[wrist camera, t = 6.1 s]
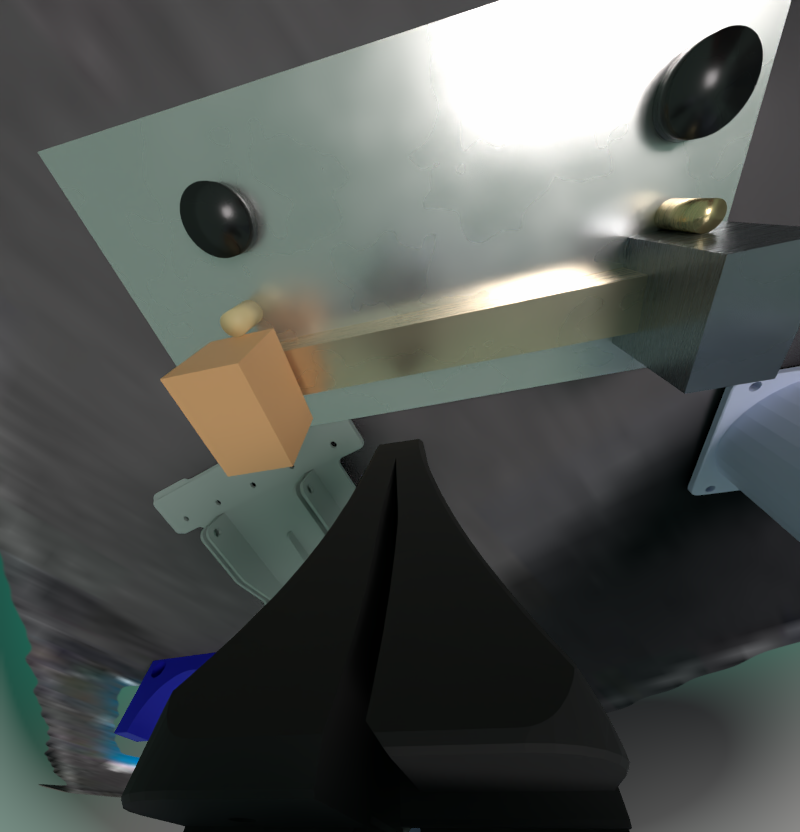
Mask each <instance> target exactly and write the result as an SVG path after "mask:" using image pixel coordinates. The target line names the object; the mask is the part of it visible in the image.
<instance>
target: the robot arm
mask: <svg viewBox="0 0 800 832" xmlns="http://www.w3.org/2000/svg"><path fill="white" fill-rule="evenodd" d="M688 490H689V491H690V492H691V493H692V494H693V495H705V494H713V493H721V492H729V491H737V490H741V491H742V492H743V493H744V494H745V495H746V496H747V497H749V498H750V499H751V500H752V501H753V502H754V503H755V504H757V505H758V506H759V507H760V508H761V509H762V510H764V511H765V512H766V513H767V514H768V515H769V516H770V517H772V518H773V519H774V520H775V521H776V522H777V523H778V524H780V525H781V526H782V527H783V528H784V529H785V530H787V531H788V532H789V533H790V534H791V535H792V536H793V537H795V538H796V539H797V540H798V541H799V542H800V366H798V367H792V368H786V369H780V370H779V371H778V374H777V376H776V378H775V379H771V380H765V381H759V382H753V383H747V384H740V385H734V386H728V387H726V388H725V391H724V393H723V396H722V399H721V401H720V404H719V407H718V409H717V412H716V414H715V417H714V420H713V422H712V425H711V427H710V430H709V433H708V435H707V438H706V441H705V443H704V446H703V448H702V451H701V454H700V456H699V459H698V461H697V464H696V467H695V469H694V472H693V475H692V477H691V480H690V482H689V485H688ZM628 769H629V760H628V757H627V754H626V752H625V749H624V747H623V745H622V743H621V741H620V739H619V737H618V735H617V733H616V731H615V729H614V727H613V725H612V723H611V721H610V719H609V717H608V716H607V714H606V712H605V710H604V709H603V707H602V705H601V704H600V702H599V701H598V699H597V697H596V696H595V694H594V692H593V691H592V689H591V688H590V686H589V685H588V683H587V682H586V680H585V678H584V677H583V675H582V674H581V672H580V671H579V669H578V667H577V666H576V664H575V663H574V662H573V661H572V660H571V659H570V658H569V657H568V655H567V654H566V653H565V652H564V651H563V650H562V649H561V648H560V647H559V646H558V645H557V644H556V643H555V642H554V641H553V640H552V639H551V638H550V636H549V635H548V634H547V633H546V632H545V631H544V630H543V629H542V628H541V627H540V626H539V624H538V623H537V622H536V621H535V620H534V619H533V618H532V617H531V616H530V614H529V613H528V612H527V611H526V610H525V609H524V608H523V606H522V605H521V604H520V603H519V602H518V601H517V600H516V598H515V597H514V596H513V595H512V594H511V593H510V591H509V590H508V589H507V588H506V586H505V585H504V584H503V583H502V581H501V580H500V579H499V578H498V576H497V575H496V574H495V573H494V571H493V570H492V569H491V568H490V566H489V565H488V564H487V563H486V561H485V560H484V559H483V557H482V556H481V555H480V553H479V552H478V551H477V549H476V548H475V546H474V545H473V544H472V542H471V541H470V539H469V538H468V536H467V535H466V533H465V532H464V531H463V529H462V528H461V526H460V524H459V523H458V521H457V520H456V518H455V517H454V515H453V513H452V512H451V510H450V508H449V506H448V505H447V503H446V501H445V499H444V498H443V496H442V494H441V492H440V490H439V488H438V486H437V484H436V482H435V480H434V478H433V476H432V473H431V471H430V469H429V466H428V463H427V458H426V454H425V449H424V445H423V441H421V440H419V439H416V440H410V441H403V442H396V443H390V444H383V445H379V446H378V448H377V449H376V451H375V453H374V455H373V457H372V459H371V461H370V463H369V465H368V467H367V469H366V471H365V473H364V474H363V476H362V478H361V480H360V482H359V483H358V485H357V487H356V488H355V490H354V492H353V494H352V495H351V497H350V499H349V500H348V502H347V504H346V505H345V507H344V508H343V510H342V511H341V513H340V514H339V516H338V517H337V519H336V520H335V522H334V523H333V525H332V526H331V528H330V529H329V530H328V532H327V533H326V535H325V536H324V537H323V539H322V540H321V541H320V543H319V544H318V545H317V547H316V548H315V549H314V550H313V552H312V553H311V554H310V555H309V557H308V558H307V559H306V560H305V562H304V563H303V564H302V565H301V566H300V567H299V569H298V570H297V571H296V572H295V573H294V575H293V576H292V577H291V578H290V579H289V580H288V581H287V583H286V584H285V585H284V586H283V587H282V588H281V589H280V590H279V591H278V593H277V594H276V595H275V596H274V597H273V598H272V599H271V600H270V601H269V602H268V603H267V604H266V605H265V606H264V607H263V608H262V609H261V610H260V611H259V612H258V613H257V614H256V615H255V616H254V617H253V618H252V619H251V620H250V621H249V622H248V623H247V624H246V625H245V626H244V627H243V628H242V629H241V630H240V631H239V632H238V633H237V634H236V635H235V636H234V637H233V638H232V639H231V640H230V641H229V642H227V643H226V644H225V645H224V646H223V647H222V648H221V649H220V650H219V651H217V652H216V653H215V654H214V655H213V656H212V657H211V658H210V659H209V660H207V661H206V662H205V663H204V664H203V665H202V666H201V667H200V668H198V669H197V670H196V671H195V672H194V673H193V674H192V675H191V676H189V677H188V678H187V679H186V680H185V681H184V682H183V683H181V684H180V685H179V686H178V687H177V688H176V689H174V690H173V692H172V693H171V695H170V697H169V699H168V701H167V703H166V705H165V707H164V709H163V711H162V713H161V715H160V717H159V719H158V721H157V723H156V725H155V728H154V730H153V732H152V734H151V736H150V738H149V740H148V742H147V744H146V747H145V748H144V751H143V753H142V755H141V757H140V759H139V761H138V763H137V765H136V767H135V769H134V771H133V773H132V776H131V778H130V780H129V782H128V784H127V786H126V788H125V790H124V792H123V794H122V796H121V801H122V805H123V808H124V809H125V810H127V811H129V812H132V813H136V814H139V815H142V816H146V817H150V818H154V819H158V820H163V821H166V822H171V823H175V824H179V825H183V826H185V829H184V831H183V832H409V831H410V829H411V828H420V829H421V832H629V829H631V828H632V827H631V823H630V819H629V816H628V813H627V810H626V808H625V805H624V802H623V799H622V796H621V793H620V791H619V788H618V786H619V784H620V783H621V782H622V781H623V779H624V778H625V777H626V774H627V772H628Z"/></svg>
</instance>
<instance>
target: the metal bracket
mask: <svg viewBox="0 0 800 832" xmlns="http://www.w3.org/2000/svg"><path fill="white" fill-rule="evenodd" d="M333 441H334V442H335V443H336V444H337V446H335V447H334V446H332V444H331V442H333ZM363 445H364V440H363V438H362V436H361V435H360V433H359V432H358V430H357V428H356V427H355V425H354V424H353V422H352V420H351V419H349V420H343V421H337V422H332V423H326V424H320V425H314V426H310V427H309V429H308V432H307V434H306V437H305V439H304V441H303V444H302V446H301V449H300V451H299V453H298V456H297V458H296V461H295V463H294V467H286V468H280V469H274V470H267V471H261V472H255V473H248V474H242V475H236V476H230V477H228V476H227V475H226V473H225V472H224V470H223V469H222V467H221V466H220V465H219V463H218V464H216V465H215V466H213V467H211V468H209V469H207V470H206V471H204V472H202V473H200V474H198V475H197V476H195V477H193V478H191V479H185V478H184V479H182V480H180V481H178V482H177V483H175V484H173V485H171V486H169V487H167V488H166V489H164V490H162V491H160V492H158V493H156V494H155V496H154V503H153V505H154V506H155V508H156V509H157V510H158V511H159V512H160V514H161V515H162V516H163V517H164V518H165V520H166V521H167V522H168V523H169V524H170V526H171V527H172V528H173V529H174V530H175V531H176V532H177V533H179V534H180V533H183V534H185V533H187V532H189V531H192V530H194V529H196V528H198V527H202V528H204V529H203V530H202V532H201V540H202V542H203V543H204V545H205V546H206V547H207V548H208V549H209V551H210V552H211V553H212V554H213V556H214V557H215V558H216V559H217V560H218V562H219V563H220V564H221V565H222V566H223V568H224V569H225V570H226V571H227V573H228V574H229V575H230V576H231V577H232V579H233V580H234V581H235V582H236V583H237V584H238V585H240V586H241V587H242V588H244V589H245V590H247V591H248V592H250V593H251V594H253V595H254V596H256V597H257V598H259V599H260V600H262V601H263V602H264V605H266V604H267V603H268V602H269V601H270V600H271V599H272V598H273V597H274V596H275V595H276V594H277V593H278V591H279V590H280V589H281V588H282V587H283V586H284V585H285V584H286V583H287V581H288V580H289V579H290V578H291V577H292V576H293V575H294V573H295V572H296V571H297V570H298V569H299V567H300V566H301V565H302V564H303V563H304V562H305V560H306V559H307V558H308V557H309V555H310V554H311V553H312V552H313V550H314V549H315V548H316V547H317V545H318V544H319V543H320V541H321V540H322V539H323V537H324V536H325V535H326V533H327V532H328V530H329V529H330V528H331V526H332V525H333V523H334V522H335V520H336V519H337V517H338V516H339V514H340V513H341V511H342V510H343V508H344V507H345V505H346V504H347V502H348V500H349V499H350V497H351V495H352V494H353V492H354V490H355V488H356V486H355V485H354V483H353V482H352V480H351V479H350V477H349V475H348V474H347V472H346V471H345V469H344V468H343V466H342V465H341V463H340V459H341V458H342V457H344V456H346V455H348V454H350V453H352V452H354V451H356V450H358V449H360V448H362V447H363ZM252 482H253V483H255V484H256V486H253V485H252ZM217 500H219V501H220V502H221V504H220V503H219V502H218V501H217ZM187 517H188V518H189V519H188V518H187Z"/></svg>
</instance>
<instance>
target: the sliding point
mask: <svg viewBox="0 0 800 832" xmlns="http://www.w3.org/2000/svg"><path fill="white" fill-rule="evenodd" d="M262 317H263V311H262V309H261V307H260V306H259V305H258V304H257V303H256V302H254V301H252V300H245V301H243V302H241V303H240V304H238V305H237V306H235V307H233V308H232V309H230V310H229V311H227V312H226V313H224V314H223V315H222V316H221V318H220V324H221V327H222V329H223V330H224V331H225V332H226V333H227V334H228V335H230V336H232V337H231V338H226V339H222V340H217V341H212V342H210V343H209V344H207V345H206V346H205V347H203V348H202V349H200V350H199V351H198V352H196V353H195V354H194V355H192V356H191V357H190V358H188V359H187V360H186V361H184V362H183V363H181V364H180V365H179V366H177V367H176V368H175V369H173V370H172V371H171V372H169V373H168V374H167V375H165V376H164V377H162V378H161V379H160V380H161V382H162V383H163V384H164V386H165V387H166V389H167V390H168V392H169V393H170V394H171V396H172V397H173V399H174V400H175V402H176V403H177V404H178V406H179V407H180V409H181V410H182V412H183V413H184V414H185V416H186V417H187V419H188V420H189V422H190V423H191V425H192V426H193V427H194V429H195V430H196V432H197V433H198V435H199V436H200V437H201V439H202V440H203V442H204V443H205V445H206V446H207V447H208V449H209V450H210V452H211V453H212V455H213V456H214V457H215V459H216V460H217V462H218V463H219V465H220V466H221V467H222V469H223V470H224V472H225V473H226V475H227V476H228V477H230V476H236V475H242V474H248V473H255V472H261V471H267V470H274V469H280V468H286V467H292V466H293V465H294V463H295V461H296V458H297V456H298V453H299V451H300V449H301V446H302V444H303V441H304V439H305V437H306V434H307V432H308V429H309V427H310V425H311V422H312V420H313V417H312V414H311V412H310V410H309V408H308V405H307V403H306V401H305V398H304V396H303V394H302V392H301V389H300V387H299V385H298V382H297V380H296V378H295V376H294V373H293V371H292V369H291V367H290V364H289V362H288V360H287V357H286V355H285V353H284V351H283V348H282V346H281V344H280V342H279V339H278V337H277V335H276V332H275V330H274V328H272V329H267V330H263V331H258V332H253V333H249V334H245V333H247V332H248V331H249V330H250V329H251V328H252V327H254V326H255V325H256V324H257V323H258V322H260V321H261V319H262Z"/></svg>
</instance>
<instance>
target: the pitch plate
mask: <svg viewBox="0 0 800 832" xmlns="http://www.w3.org/2000/svg"><path fill="white" fill-rule="evenodd" d="M790 3H791V0H501V1H497V2H494V3H491V4H488V5H485V6H482V7H479V8H476V9H473V10H470V11H467V12H464V13H461V14H458V15H455V16H452V17H449V18H446V19H443V20H439V21H436V22H433V23H430V24H427V25H424V26H421V27H418V28H415V29H412V30H409V31H406V32H403V33H400V34H397V35H394V36H391V37H388V38H384V39H381V40H378V41H375V42H372V43H369V44H366V45H363V46H360V47H357V48H354V49H351V50H348V51H345V52H342V53H339V54H336V55H333V56H330V57H326V58H323V59H320V60H317V61H314V62H311V63H308V64H305V65H302V66H299V67H296V68H293V69H290V70H287V71H284V72H281V73H278V74H275V75H271V76H268V77H265V78H262V79H259V80H256V81H253V82H250V83H247V84H244V85H241V86H238V87H235V88H232V89H229V90H226V91H223V92H220V93H217V94H213V95H210V96H207V97H204V98H201V99H198V100H195V101H192V102H189V103H186V104H183V105H180V106H177V107H174V108H171V109H168V110H165V111H162V112H158V113H155V114H152V115H149V116H146V117H143V118H140V119H137V120H134V121H131V122H128V123H125V124H122V125H119V126H116V127H113V128H110V129H107V130H104V131H100V132H97V133H94V134H91V135H88V136H85V137H82V138H79V139H76V140H73V141H70V142H67V143H64V144H61V145H58V146H55V147H52V148H49V149H46V150H42V151H39V152H38V154H39V155H40V157H41V158H42V160H43V161H44V163H45V164H46V166H47V168H48V169H49V171H50V172H51V174H52V175H53V177H54V178H55V180H56V181H57V183H58V184H59V186H60V188H61V189H62V191H63V192H64V194H65V195H66V197H67V198H68V200H69V201H70V203H71V204H72V206H73V208H74V209H75V211H76V212H77V214H78V215H79V217H80V218H81V220H82V221H83V223H84V224H85V226H86V228H87V229H88V231H89V232H90V234H91V235H92V237H93V238H94V240H95V241H96V243H97V244H98V246H99V247H100V249H101V251H102V252H103V254H104V255H105V257H106V258H107V260H108V261H109V263H110V264H111V266H112V267H113V269H114V271H115V272H116V274H117V275H118V277H119V278H120V280H121V281H122V283H123V284H124V286H125V287H126V289H127V291H128V292H129V294H130V295H131V297H132V298H133V300H134V301H135V303H136V304H137V306H138V307H139V309H140V311H141V312H142V314H143V315H144V317H145V318H146V320H147V321H148V323H149V324H150V326H151V327H152V329H153V331H154V332H155V334H156V335H157V337H158V338H159V340H160V341H161V343H162V344H163V346H164V347H165V349H166V351H167V352H168V354H169V355H170V357H171V358H172V360H173V361H174V363H175V364H176V366H179V365H180V364H181V363H183V362H184V361H186V360H187V359H188V358H190V357H191V356H192V355H194V354H195V353H196V352H198V351H199V350H200V349H202V348H203V347H205V346H206V345H207V344H209V343H210V342H212V341H217V340H222V339H226V338H231V337H232V336H230V335H228V334H227V333H226V332H225V331H224V330H223V329H222V327H221V324H220V318H221V316H222V315H223V314H224V313H226V312H227V311H229V310H230V309H232V308H233V307H235V306H237V305H238V304H240V303H241V302H243V301H245V300H252V301H254V302H256V303H257V304H258V305H259V306H260V307H261V309H262V311H263V317H262V319H261V321H260V322H258V323H257V324H256V325H255V326H254V327H252V328H251V329H250V330H249V331H248V332H247V333H245V334H249V333H253V332H258V331H263V330H267V329H272V328H274V330H275V332H276V335H277V337H278V339H279V342H280V344H281V346H282V348H283V351H284V353H285V355H286V357H287V360H288V362H289V364H290V367H291V369H292V371H293V373H294V376H295V378H296V380H297V382H298V385H299V387H300V389H301V392H302V394H303V396H304V398H305V401H306V403H307V405H308V408H309V410H310V412H311V414H312V417H313V420H312V422H311V425H310V426H314V425H320V424H326V423H332V422H337V421H343V420H349V419H354V418H360V417H366V416H372V415H377V414H383V413H389V412H394V411H400V410H406V409H411V408H417V407H423V406H429V405H434V404H440V403H446V402H451V401H457V400H463V399H468V398H474V397H480V396H486V395H491V394H497V393H503V392H508V391H514V390H520V389H526V388H531V387H537V386H543V385H548V384H554V383H560V382H565V381H571V380H577V379H583V378H588V377H594V376H600V375H605V374H611V373H617V372H622V371H628V370H634V369H640V368H645V367H647V368H649V369H650V370H652V371H653V372H654V373H656V374H657V375H659V376H660V377H662V378H663V379H664V380H666V381H667V382H669V383H670V384H672V385H673V386H675V387H676V388H677V389H679V390H680V391H682V392H683V393H691V392H698V391H704V390H710V389H716V388H722V387H728V386H734V385H740V384H747V383H753V382H759V381H765V380H771V379H775V378H776V376H777V374H778V371H779V369H780V367H781V365H782V363H783V361H784V359H785V357H786V354H787V352H788V350H789V348H790V346H791V344H792V342H793V340H794V337H795V335H796V333H797V331H798V329H799V327H800V227H799V226H784V225H770V224H756V223H742V222H728V221H727V219H728V216H729V213H730V209H731V206H732V202H733V199H734V195H735V192H736V188H737V185H738V182H739V178H740V175H741V171H742V168H743V164H744V161H745V158H746V154H747V151H748V147H749V144H750V140H751V137H752V134H753V130H754V127H755V123H756V120H757V116H758V113H759V110H760V106H761V103H762V99H763V96H764V92H765V89H766V86H767V82H768V79H769V75H770V72H771V68H772V65H773V61H774V58H775V55H776V51H777V48H778V44H779V41H780V37H781V34H782V31H783V27H784V24H785V20H786V17H787V13H788V10H789V7H790ZM174 369H175V368H174ZM170 372H171V371H170ZM166 375H167V374H166Z"/></svg>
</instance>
